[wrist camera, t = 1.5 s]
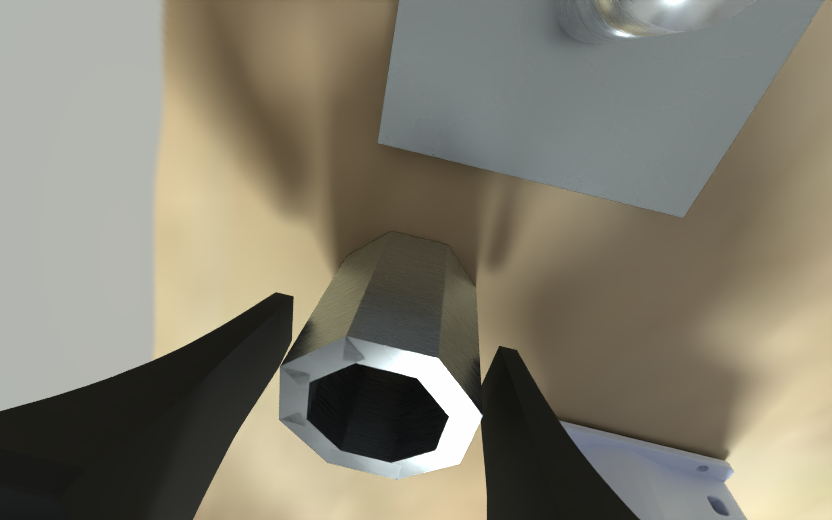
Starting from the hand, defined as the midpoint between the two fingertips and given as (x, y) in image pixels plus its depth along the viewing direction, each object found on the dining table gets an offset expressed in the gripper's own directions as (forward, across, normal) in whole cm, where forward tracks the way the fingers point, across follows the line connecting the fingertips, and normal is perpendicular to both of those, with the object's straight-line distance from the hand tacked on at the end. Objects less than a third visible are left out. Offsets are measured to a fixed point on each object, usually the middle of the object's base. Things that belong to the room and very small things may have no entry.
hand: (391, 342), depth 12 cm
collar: (+3, 0, 0) cm, 3 cm away
